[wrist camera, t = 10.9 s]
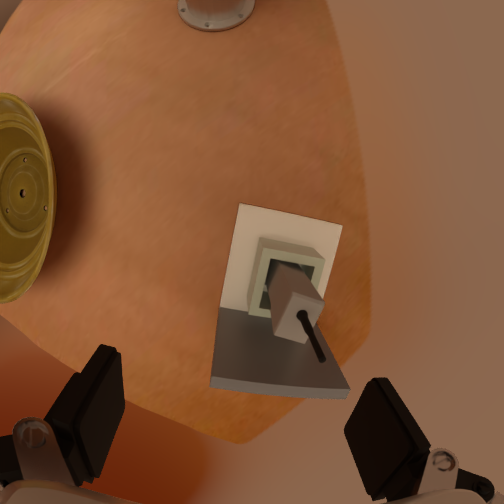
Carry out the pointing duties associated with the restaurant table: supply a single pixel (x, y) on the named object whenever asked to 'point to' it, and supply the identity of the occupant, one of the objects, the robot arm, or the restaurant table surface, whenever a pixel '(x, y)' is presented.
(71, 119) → the restaurant table surface
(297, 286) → the vintage mobile phone
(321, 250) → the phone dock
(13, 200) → the planter bowl
